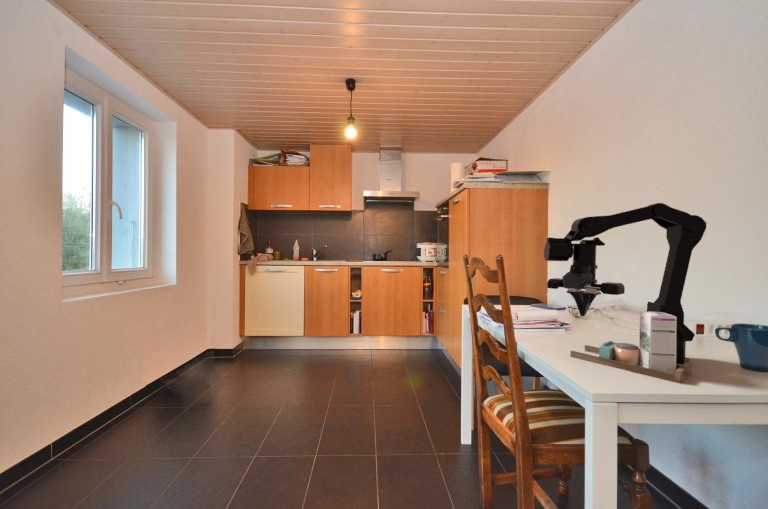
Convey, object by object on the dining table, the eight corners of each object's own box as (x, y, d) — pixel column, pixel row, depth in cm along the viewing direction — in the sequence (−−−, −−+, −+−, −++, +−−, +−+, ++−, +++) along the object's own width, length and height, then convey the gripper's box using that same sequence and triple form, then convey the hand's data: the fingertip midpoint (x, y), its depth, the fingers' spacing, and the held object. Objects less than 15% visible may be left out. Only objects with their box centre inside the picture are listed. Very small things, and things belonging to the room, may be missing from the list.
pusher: (610, 355, 98) (610, 339, 98) (620, 358, 96) (620, 341, 96) (599, 361, 94) (599, 344, 93) (609, 363, 92) (609, 346, 92)
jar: (642, 365, 91) (642, 346, 91) (635, 369, 88) (635, 349, 88) (618, 360, 96) (618, 341, 96) (610, 364, 92) (611, 344, 92)
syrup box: (677, 376, 83) (678, 316, 83) (648, 374, 85) (650, 314, 84) (664, 368, 89) (665, 311, 89) (637, 366, 90) (639, 310, 90)
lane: (586, 350, 104) (586, 341, 104) (691, 373, 86) (691, 363, 86) (570, 356, 98) (570, 347, 98) (680, 383, 79) (680, 372, 79)
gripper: (538, 260, 102) (537, 314, 103) (609, 263, 88) (608, 325, 88) (556, 260, 109) (555, 310, 110) (625, 262, 94) (624, 320, 95)
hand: (582, 315), depth 100 cm, fingers closed
